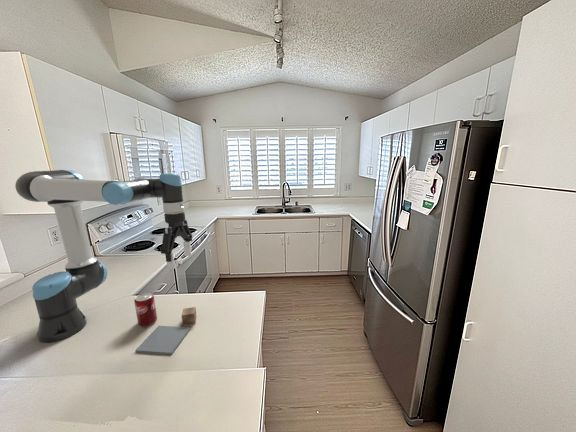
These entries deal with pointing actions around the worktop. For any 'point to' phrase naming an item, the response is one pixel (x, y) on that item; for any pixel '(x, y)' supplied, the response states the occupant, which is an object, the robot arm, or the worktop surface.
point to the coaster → (163, 340)
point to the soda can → (145, 309)
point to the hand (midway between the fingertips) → (180, 261)
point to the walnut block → (189, 316)
